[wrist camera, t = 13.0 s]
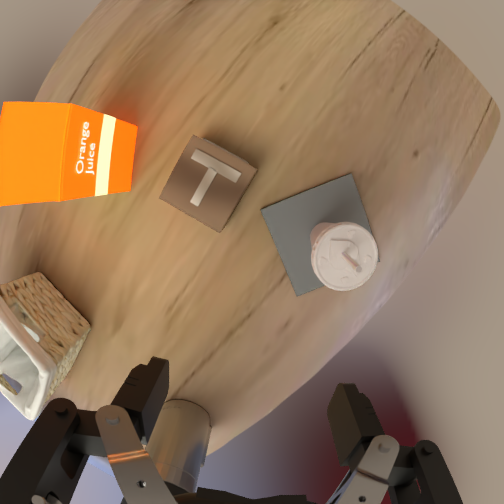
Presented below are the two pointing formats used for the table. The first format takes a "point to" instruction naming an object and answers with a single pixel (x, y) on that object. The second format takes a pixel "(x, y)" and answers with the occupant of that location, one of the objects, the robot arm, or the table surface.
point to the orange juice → (62, 153)
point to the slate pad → (311, 225)
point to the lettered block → (208, 183)
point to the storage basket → (36, 340)
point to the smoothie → (343, 254)
